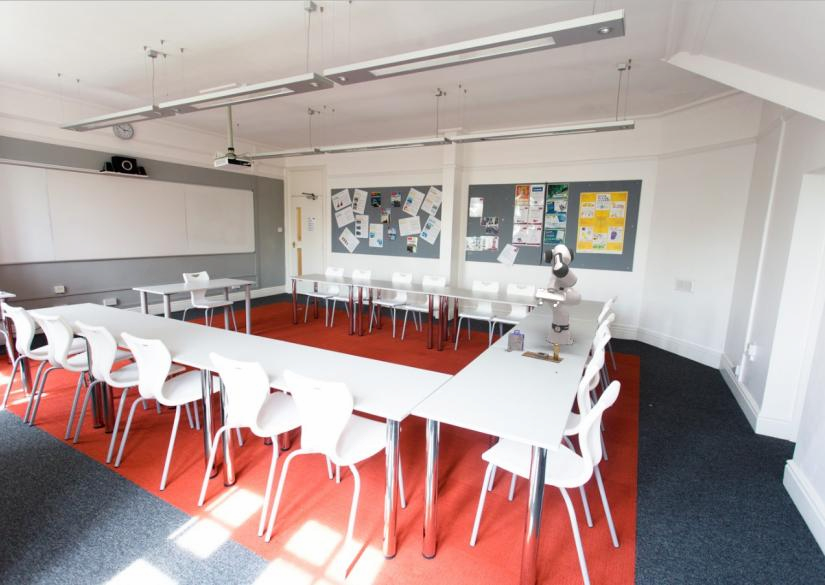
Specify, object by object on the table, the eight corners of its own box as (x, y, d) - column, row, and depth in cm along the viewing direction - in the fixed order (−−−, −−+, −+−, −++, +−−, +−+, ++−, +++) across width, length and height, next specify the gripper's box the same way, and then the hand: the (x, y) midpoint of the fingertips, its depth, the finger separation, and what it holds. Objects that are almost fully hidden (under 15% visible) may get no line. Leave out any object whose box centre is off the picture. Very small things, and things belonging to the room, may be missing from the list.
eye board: (527, 353, 269) (527, 347, 268) (564, 360, 255) (564, 354, 254) (520, 357, 259) (521, 351, 258) (558, 365, 245) (559, 359, 244)
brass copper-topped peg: (553, 358, 254) (555, 343, 252) (559, 359, 252) (560, 344, 251) (552, 359, 251) (553, 344, 250) (557, 360, 250) (558, 345, 248)
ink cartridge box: (523, 351, 273) (525, 330, 271) (521, 353, 268) (523, 332, 266) (509, 349, 277) (510, 328, 275) (507, 351, 272) (508, 330, 270)
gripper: (537, 285, 275) (531, 301, 268) (568, 289, 264) (562, 306, 257) (538, 290, 279) (532, 306, 273) (569, 295, 268) (563, 311, 262)
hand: (547, 306), depth 265 cm, fingers open, 8 cm apart
